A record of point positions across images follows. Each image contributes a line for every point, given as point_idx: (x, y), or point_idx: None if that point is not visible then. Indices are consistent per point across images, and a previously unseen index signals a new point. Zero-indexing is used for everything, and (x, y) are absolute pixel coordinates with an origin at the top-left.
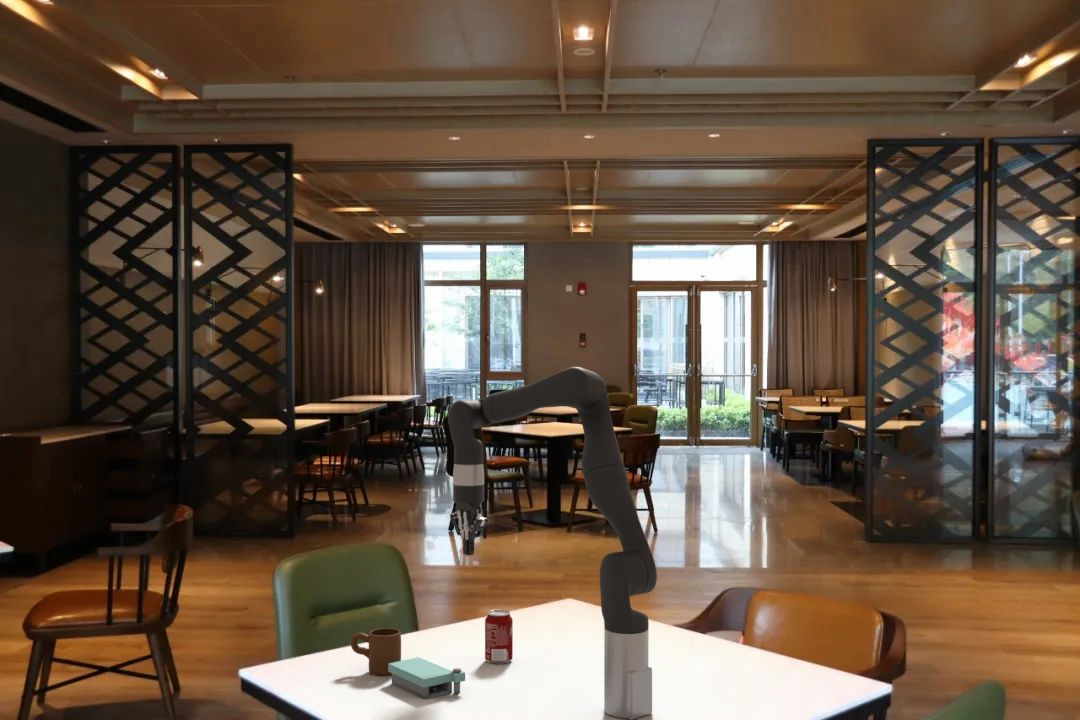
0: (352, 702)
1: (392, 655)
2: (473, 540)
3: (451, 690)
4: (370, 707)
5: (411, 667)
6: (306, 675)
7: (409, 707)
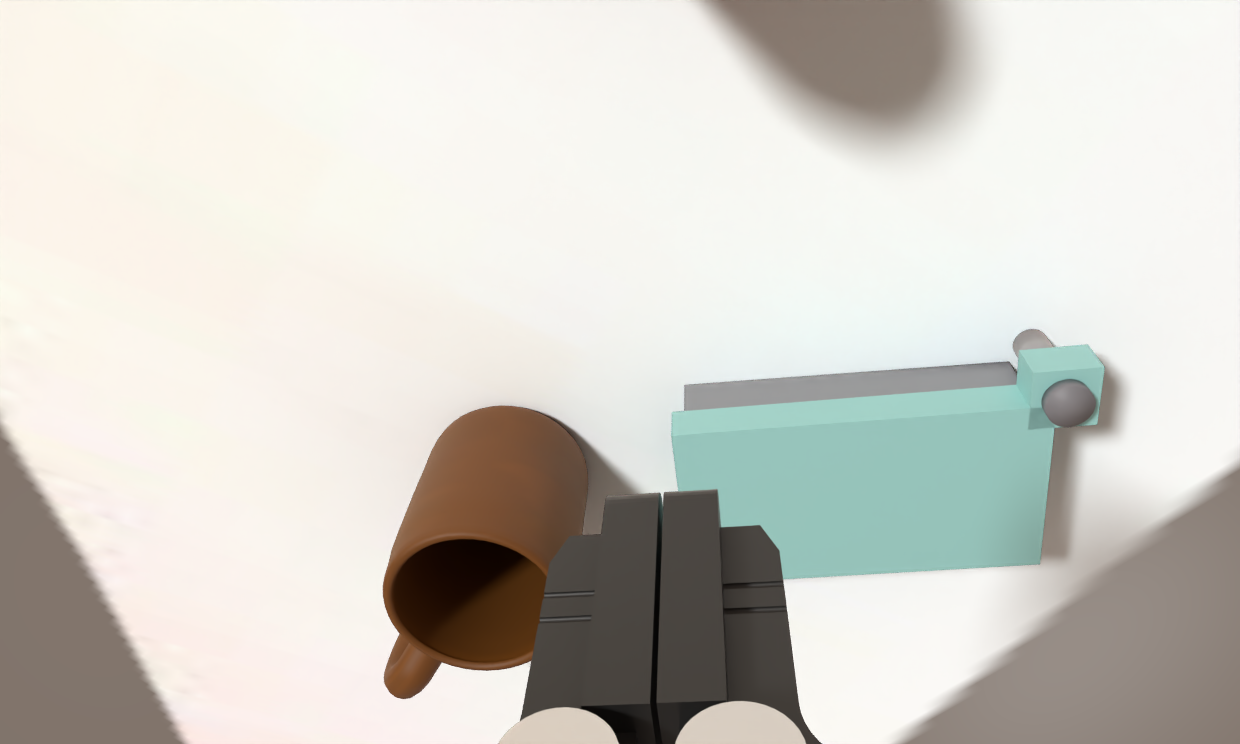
0: (823, 694)
1: (580, 528)
2: (800, 731)
3: (1012, 369)
4: (923, 671)
5: (822, 533)
6: (401, 701)
7: (1036, 574)
